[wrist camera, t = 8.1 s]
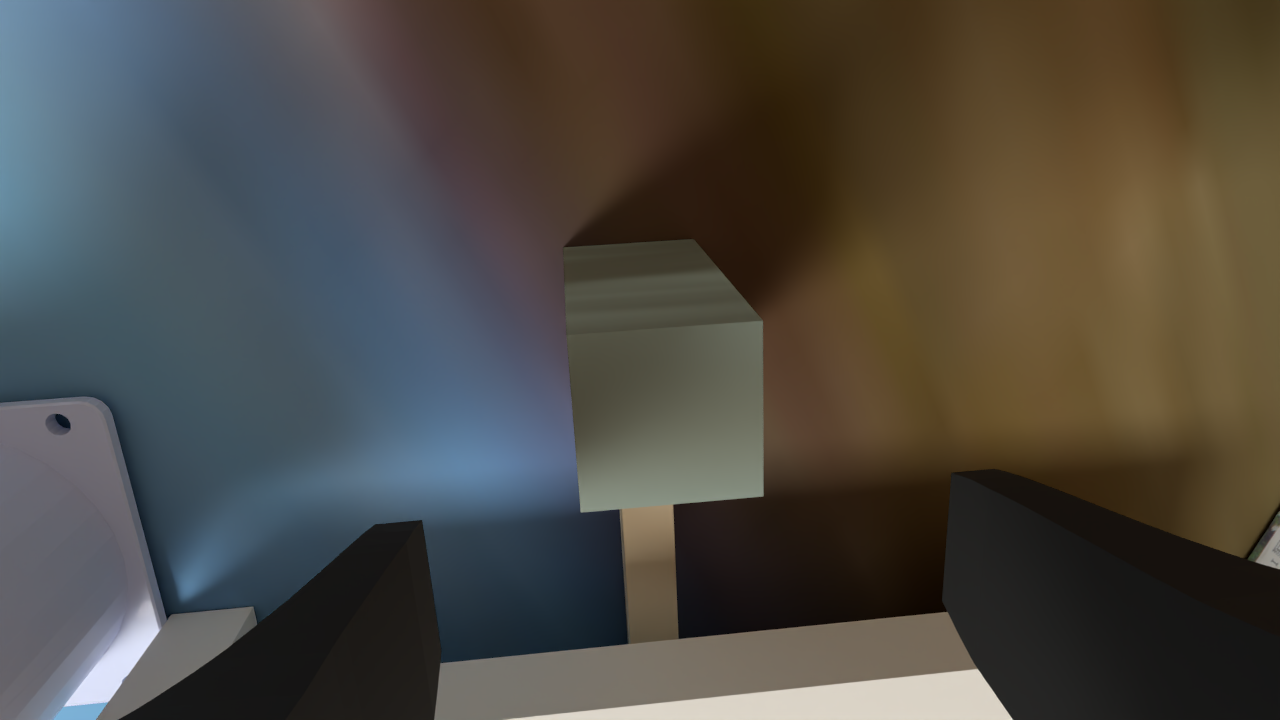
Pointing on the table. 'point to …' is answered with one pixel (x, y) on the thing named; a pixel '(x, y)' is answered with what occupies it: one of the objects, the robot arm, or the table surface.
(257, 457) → the table surface
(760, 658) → the low shelf
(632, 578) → the gray rectangular block
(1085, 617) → the robot arm
